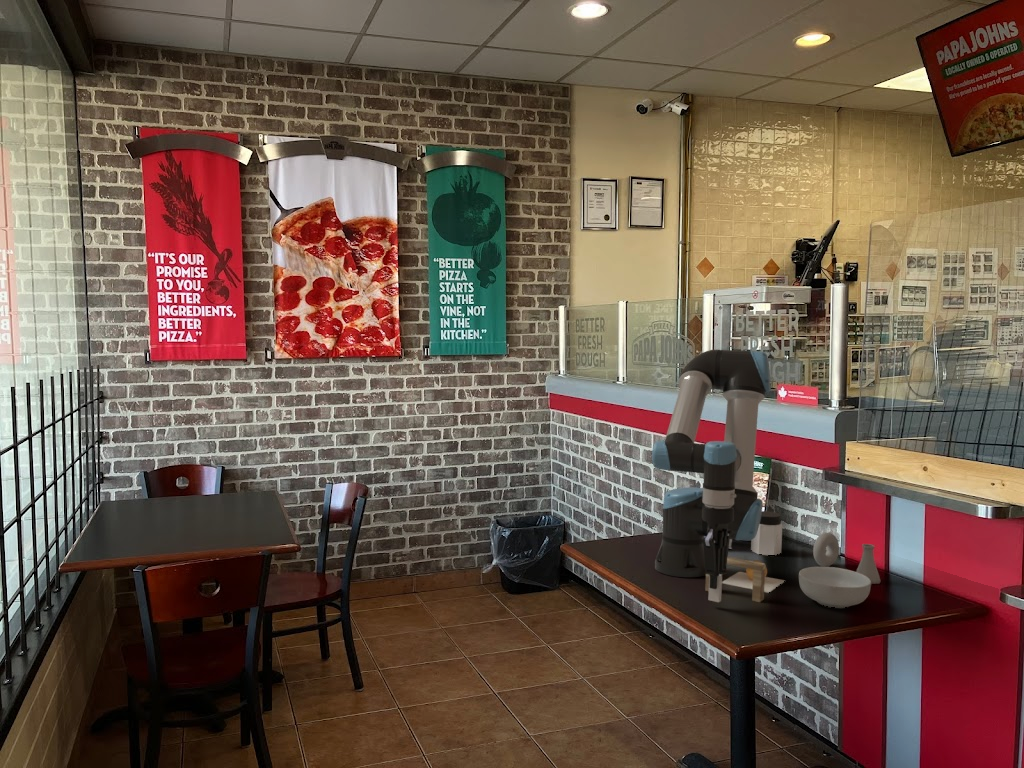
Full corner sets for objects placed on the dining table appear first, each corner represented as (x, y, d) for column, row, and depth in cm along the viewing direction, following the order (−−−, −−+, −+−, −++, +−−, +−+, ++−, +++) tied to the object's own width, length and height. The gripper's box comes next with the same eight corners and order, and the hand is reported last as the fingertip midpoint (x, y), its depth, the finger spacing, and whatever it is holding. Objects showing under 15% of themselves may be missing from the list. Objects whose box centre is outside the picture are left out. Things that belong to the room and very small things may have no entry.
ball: (748, 579, 230) (741, 578, 226) (751, 559, 231) (744, 557, 227) (768, 583, 227) (761, 582, 222) (771, 563, 228) (764, 561, 223)
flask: (883, 585, 225) (885, 549, 224) (855, 583, 226) (857, 547, 225) (877, 578, 232) (879, 542, 231) (850, 576, 233) (851, 541, 233)
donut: (830, 562, 246) (832, 529, 246) (840, 565, 244) (842, 531, 243) (809, 567, 241) (811, 533, 240) (820, 570, 238) (821, 536, 237)
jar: (770, 557, 251) (772, 518, 250) (746, 552, 256) (748, 513, 256) (785, 552, 257) (786, 514, 256) (761, 547, 263) (762, 509, 262)
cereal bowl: (787, 603, 208) (788, 575, 208) (811, 588, 221) (812, 562, 220) (857, 619, 197) (858, 590, 197) (878, 603, 210) (879, 575, 210)
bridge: (759, 602, 209) (761, 566, 208) (705, 590, 217) (706, 556, 216) (763, 599, 211) (765, 563, 210) (709, 587, 219) (711, 553, 219)
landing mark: (721, 583, 224) (721, 582, 224) (739, 572, 234) (739, 571, 234) (769, 592, 216) (769, 592, 216) (785, 581, 227) (785, 580, 227)
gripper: (722, 512, 194) (719, 610, 196) (743, 503, 205) (739, 597, 206) (692, 507, 199) (689, 604, 200) (714, 499, 209) (710, 590, 211)
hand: (714, 600), depth 203 cm, fingers closed
